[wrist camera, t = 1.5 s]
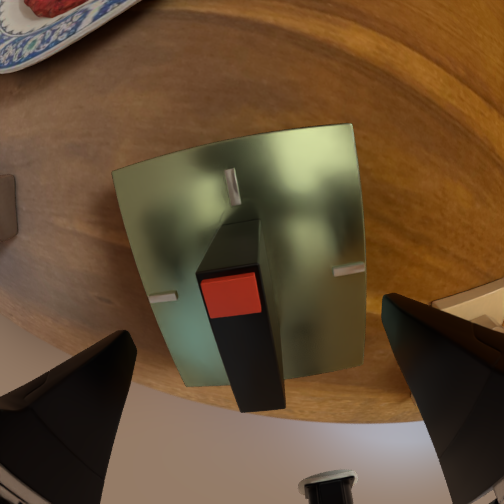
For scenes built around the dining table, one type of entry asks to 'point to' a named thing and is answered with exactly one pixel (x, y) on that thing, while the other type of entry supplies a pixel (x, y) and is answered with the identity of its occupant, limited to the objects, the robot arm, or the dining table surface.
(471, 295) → the button block
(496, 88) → the dining table surface
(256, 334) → the red-capped black block
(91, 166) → the dining table surface
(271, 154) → the panel
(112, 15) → the ceramic plate
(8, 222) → the wooden block
